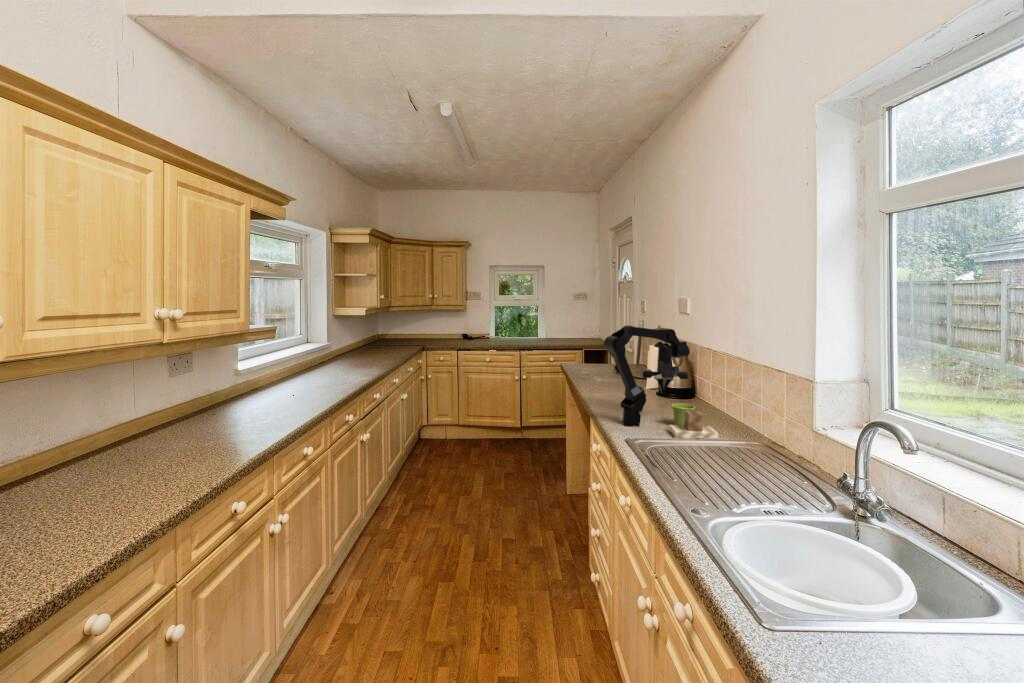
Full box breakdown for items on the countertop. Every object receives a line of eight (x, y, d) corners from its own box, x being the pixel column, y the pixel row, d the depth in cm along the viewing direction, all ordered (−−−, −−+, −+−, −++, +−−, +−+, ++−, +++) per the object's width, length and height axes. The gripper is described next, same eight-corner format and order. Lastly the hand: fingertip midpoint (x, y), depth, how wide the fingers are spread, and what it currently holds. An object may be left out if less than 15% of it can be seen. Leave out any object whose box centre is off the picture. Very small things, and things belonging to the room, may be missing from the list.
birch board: (675, 438, 192) (675, 431, 192) (669, 430, 202) (669, 424, 201) (717, 439, 191) (718, 433, 191) (709, 432, 201) (710, 426, 201)
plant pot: (665, 423, 212) (666, 403, 211) (684, 422, 215) (685, 402, 214) (679, 430, 203) (680, 409, 202) (698, 428, 206) (700, 408, 205)
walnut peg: (687, 437, 194) (689, 414, 193) (683, 432, 199) (685, 410, 198) (702, 437, 194) (703, 415, 193) (697, 433, 199) (699, 411, 198)
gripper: (646, 360, 205) (644, 397, 206) (693, 361, 204) (690, 399, 205) (641, 356, 216) (639, 391, 217) (685, 357, 215) (683, 393, 216)
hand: (662, 394), depth 214 cm, fingers closed
